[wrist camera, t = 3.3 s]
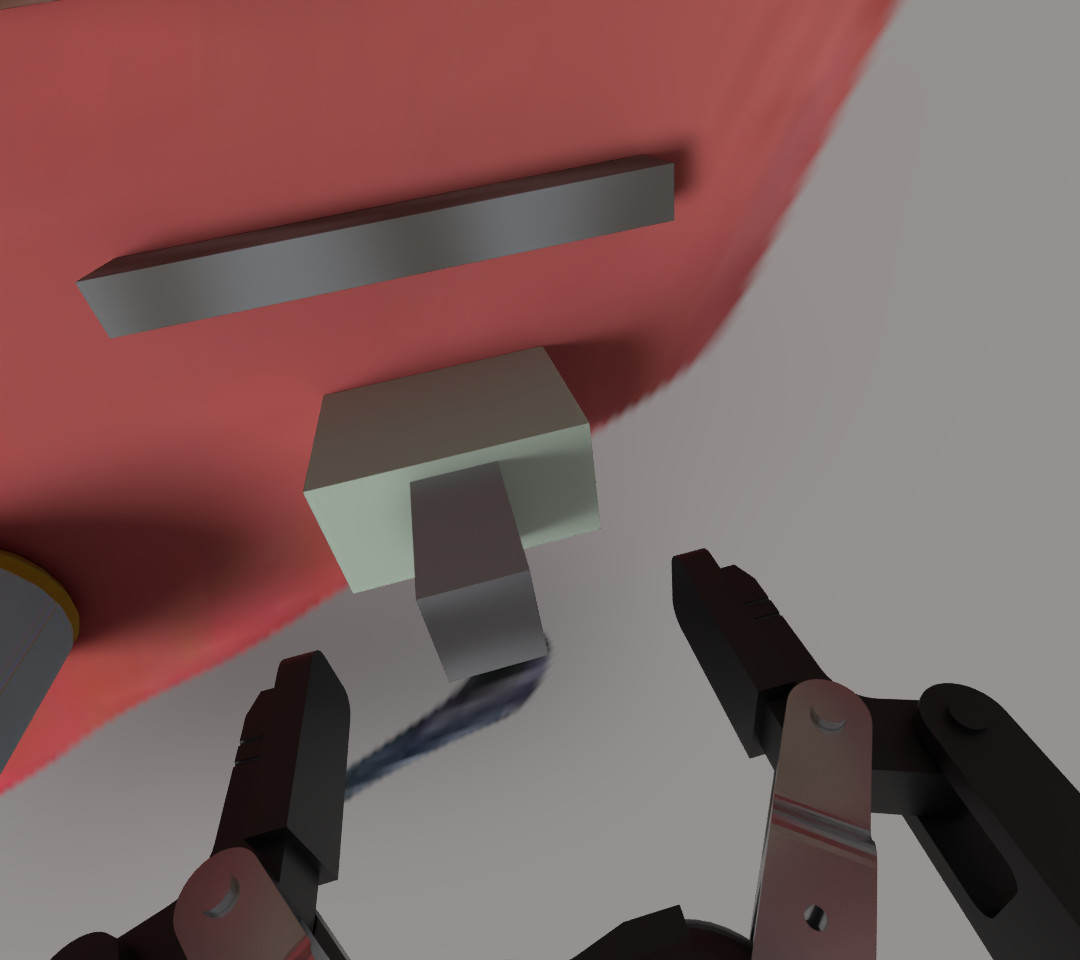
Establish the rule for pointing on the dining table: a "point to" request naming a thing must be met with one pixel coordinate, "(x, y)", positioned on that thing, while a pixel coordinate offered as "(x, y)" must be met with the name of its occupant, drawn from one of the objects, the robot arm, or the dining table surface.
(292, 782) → the robot arm
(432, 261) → the wall board
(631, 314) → the dining table surface
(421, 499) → the cabinet block
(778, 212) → the dining table surface
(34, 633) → the bottle
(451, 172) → the dining table surface
